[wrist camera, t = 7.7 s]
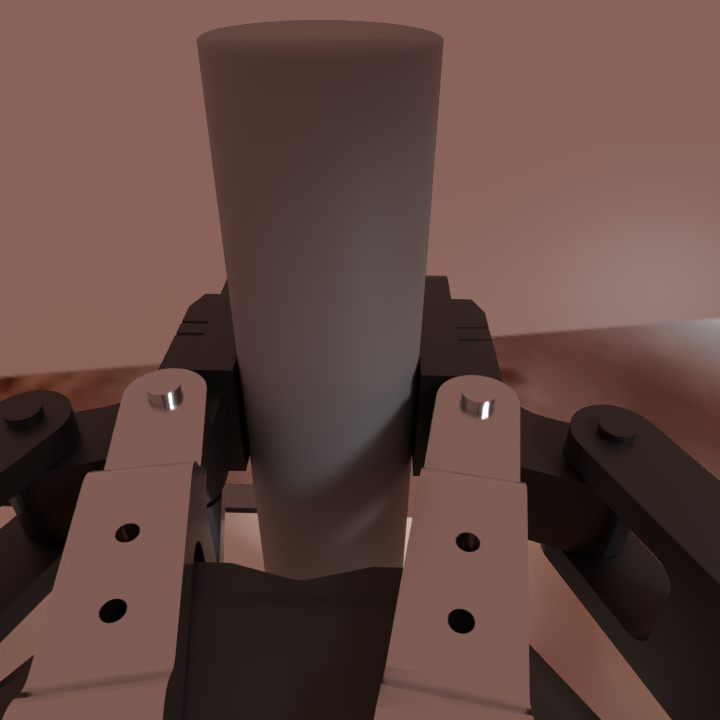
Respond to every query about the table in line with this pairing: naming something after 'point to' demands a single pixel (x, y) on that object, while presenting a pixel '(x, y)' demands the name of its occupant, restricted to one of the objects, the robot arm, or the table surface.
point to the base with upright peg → (318, 284)
